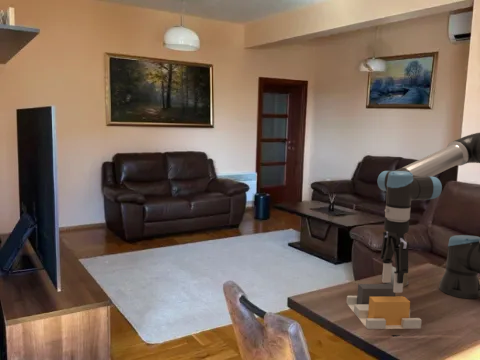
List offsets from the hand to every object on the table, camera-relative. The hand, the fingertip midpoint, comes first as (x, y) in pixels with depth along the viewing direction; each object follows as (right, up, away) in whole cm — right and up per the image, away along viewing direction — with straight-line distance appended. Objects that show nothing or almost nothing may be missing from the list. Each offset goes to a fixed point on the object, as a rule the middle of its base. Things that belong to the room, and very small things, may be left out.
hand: (391, 286), depth 144 cm
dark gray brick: (-2, -11, +13) cm, 17 cm away
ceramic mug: (+15, -9, +39) cm, 42 cm away
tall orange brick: (-1, -12, +2) cm, 12 cm away
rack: (-1, -12, +7) cm, 14 cm away
